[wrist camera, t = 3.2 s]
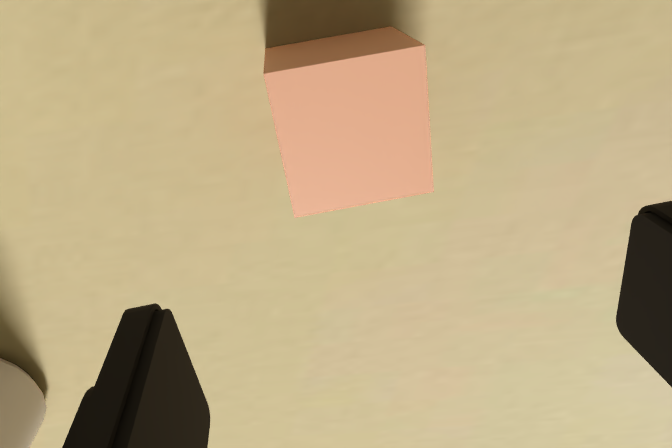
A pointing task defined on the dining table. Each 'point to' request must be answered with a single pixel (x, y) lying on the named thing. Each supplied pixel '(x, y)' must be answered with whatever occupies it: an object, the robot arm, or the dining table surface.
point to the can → (19, 407)
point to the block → (351, 119)
